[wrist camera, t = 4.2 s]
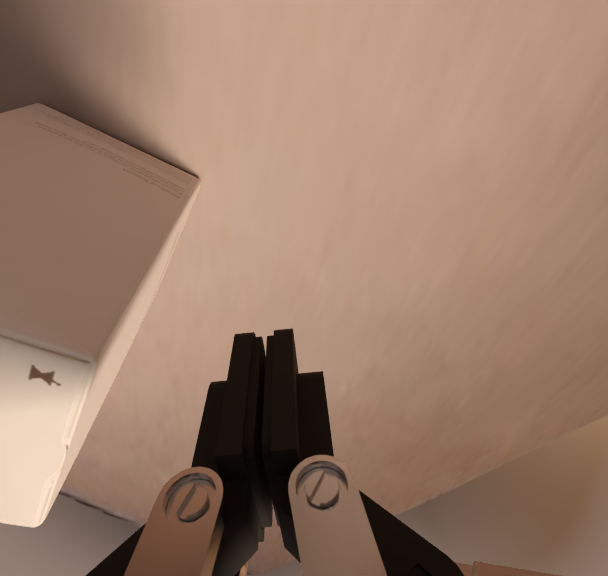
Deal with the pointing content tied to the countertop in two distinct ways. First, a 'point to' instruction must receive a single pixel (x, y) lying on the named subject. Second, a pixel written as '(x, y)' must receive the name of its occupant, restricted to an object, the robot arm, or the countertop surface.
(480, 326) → the countertop surface
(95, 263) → the supplement box
